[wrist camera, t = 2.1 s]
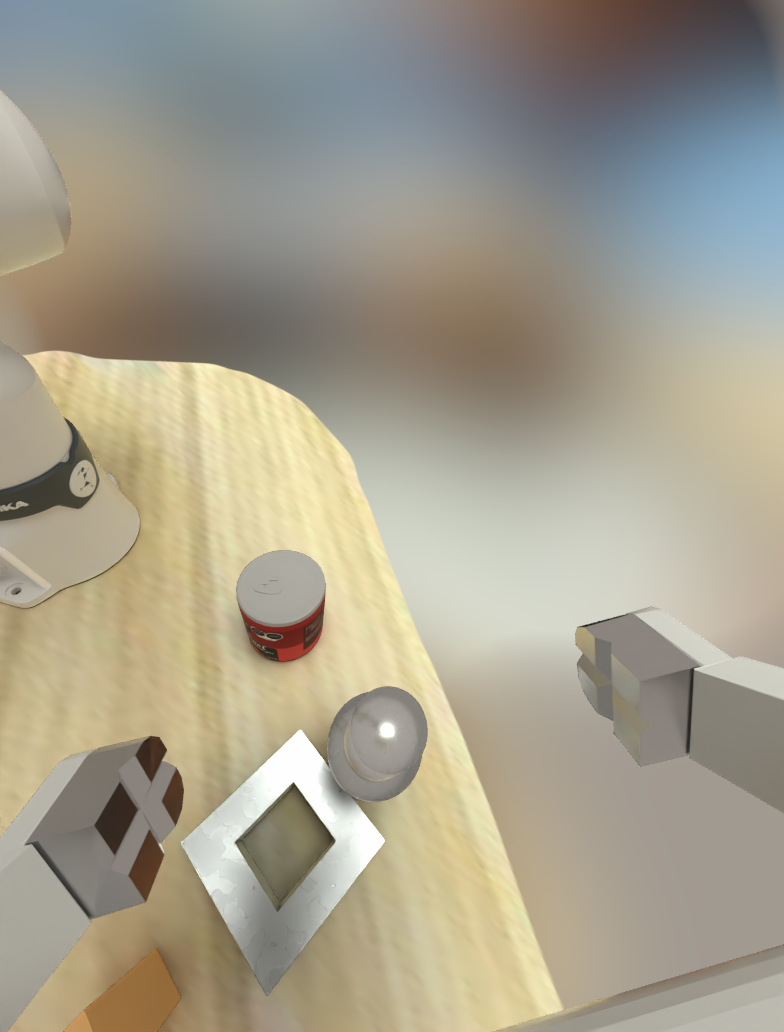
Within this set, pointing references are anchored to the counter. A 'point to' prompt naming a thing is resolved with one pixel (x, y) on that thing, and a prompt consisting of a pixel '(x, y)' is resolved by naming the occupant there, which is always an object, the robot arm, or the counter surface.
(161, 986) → the tall orange pillar block
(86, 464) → the robot arm
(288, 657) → the canned food
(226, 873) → the grey socket with post
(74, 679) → the counter surface
